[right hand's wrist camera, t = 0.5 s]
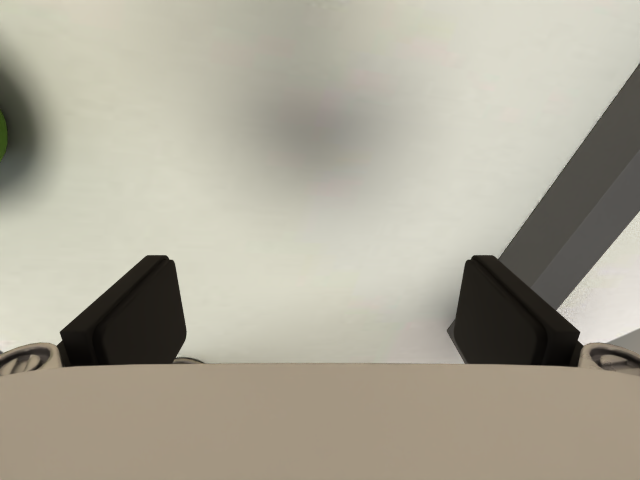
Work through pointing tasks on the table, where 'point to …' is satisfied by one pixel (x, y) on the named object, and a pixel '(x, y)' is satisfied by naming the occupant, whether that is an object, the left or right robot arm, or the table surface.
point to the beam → (582, 206)
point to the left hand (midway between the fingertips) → (589, 441)
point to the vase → (3, 135)
